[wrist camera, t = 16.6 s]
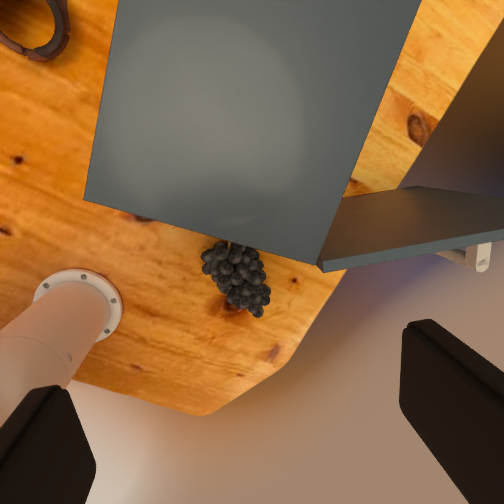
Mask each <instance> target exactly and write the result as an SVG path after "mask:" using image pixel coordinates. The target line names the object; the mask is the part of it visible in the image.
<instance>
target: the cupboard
mask: <svg viewBox="0 0 504 504" xmlns="http://www.w3.org/2000/svg"><path fill="white" fill-rule="evenodd" d="M421 1H422V0H119V1H118V7H117V13H116V18H115V24H114V29H113V35H112V41H111V46H110V52H109V58H108V63H107V69H106V74H105V80H104V86H103V91H102V97H101V103H100V108H99V114H98V120H97V125H96V131H95V136H94V142H93V148H92V153H91V159H90V165H89V170H88V176H87V181H86V187H85V193H84V198H83V200H86V201H89V202H93V203H96V204H100V205H103V206H107V207H110V208H114V209H117V210H121V211H124V212H128V213H131V214H135V215H138V216H142V217H145V218H149V219H153V220H156V221H160V222H163V223H167V224H170V225H174V226H177V227H181V228H184V229H188V230H191V231H195V232H198V233H202V234H205V235H209V236H212V237H216V238H220V239H223V240H227V241H230V242H234V243H237V244H241V245H244V246H248V247H251V248H255V249H258V250H262V251H265V252H269V253H272V254H276V255H279V256H283V257H286V258H290V259H294V260H297V261H301V262H304V263H308V264H311V265H315V264H316V261H317V259H318V256H319V254H320V251H321V249H322V246H323V244H324V242H325V239H326V237H327V234H328V232H329V229H330V227H331V224H332V222H333V219H334V217H335V214H336V212H337V209H338V207H339V204H340V202H341V199H342V197H343V194H344V192H345V189H346V187H347V184H348V182H349V179H350V177H351V174H352V172H353V170H354V167H355V165H356V162H357V160H358V157H359V155H360V152H361V150H362V147H363V145H364V142H365V140H366V137H367V135H368V132H369V130H370V127H371V125H372V122H373V120H374V117H375V115H376V112H377V110H378V107H379V105H380V102H381V100H382V98H383V95H384V93H385V90H386V88H387V85H388V83H389V80H390V78H391V75H392V73H393V70H394V68H395V65H396V63H397V60H398V58H399V55H400V53H401V50H402V48H403V45H404V43H405V40H406V38H407V35H408V33H409V30H410V28H411V26H412V23H413V21H414V18H415V16H416V13H417V11H418V8H419V6H420V3H421Z"/></svg>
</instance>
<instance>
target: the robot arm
mask: <svg viewBox="0 0 504 504" xmlns="http://www.w3.org/2000/svg"><path fill="white" fill-rule="evenodd" d="M85 275H86V276H85ZM114 298H115V299H114ZM122 313H123V305H122V300H121V297H120V295H119V293H118V291H117V290H116V288H115V287H114V286H113V285H112V284H111V283H110V282H109V281H108V280H107V279H106V278H104V277H103V276H101V275H99V274H97V273H95V272H92V271H88V270H85V269H66V270H62V271H59V272H56V273H54V274H52V275H51V276H49V277H48V278H46V279H45V280H44V281H43V282H41V284H40V285H39V286H38V288H37V289H36V291H35V294H34V297H33V304H32V305H31V306H29V307H28V308H27V309H26V310H24V311H23V312H22V313H21V314H20V315H18V316H17V317H16V318H15V319H13V320H12V321H11V322H10V323H8V324H7V325H6V326H5V327H4V328H2V329H1V330H0V504H85V502H86V500H87V497H88V494H89V492H90V489H91V486H92V483H93V481H94V478H95V474H96V462H95V459H94V457H93V454H92V451H91V449H90V446H89V443H88V441H87V438H86V436H85V433H84V431H83V428H82V425H81V423H80V420H79V418H78V415H77V413H76V410H75V407H74V405H73V402H72V400H71V397H70V394H69V392H68V391H67V390H66V389H65V388H66V387H67V385H68V384H69V382H70V380H71V379H72V377H73V376H74V374H75V373H76V371H77V370H78V368H79V366H80V365H81V363H82V362H83V360H84V359H85V357H86V356H87V354H88V352H89V351H90V349H91V348H92V346H93V345H94V343H95V342H98V341H101V340H103V339H105V338H106V337H108V336H109V335H110V334H111V333H112V332H113V331H114V330H115V329H116V327H117V326H118V324H119V322H120V320H121V317H122ZM399 404H400V408H401V410H402V412H403V414H404V416H405V417H406V419H407V420H408V421H409V423H410V424H411V425H412V427H413V428H414V429H415V431H416V432H417V434H418V435H419V436H420V438H421V439H422V440H423V442H424V443H425V444H426V446H427V447H428V448H429V450H430V451H431V452H432V454H433V455H434V457H435V458H436V459H437V461H438V462H439V463H440V465H441V466H442V467H443V469H444V470H445V471H446V473H447V474H448V476H449V477H450V478H451V480H452V481H453V482H454V484H455V485H456V486H457V488H458V489H459V490H460V492H461V493H462V494H463V496H464V497H465V499H466V500H467V501H468V503H469V504H504V372H502V371H501V370H499V369H498V368H497V367H496V366H494V365H493V364H492V363H490V362H489V361H488V360H486V359H485V358H484V357H482V356H481V355H480V354H478V353H477V352H476V351H474V350H473V349H471V348H470V347H469V346H467V345H466V344H465V343H463V342H462V341H460V340H459V339H458V338H457V337H455V336H454V335H452V334H451V333H450V332H449V331H447V330H446V329H445V328H443V327H442V326H440V325H439V324H438V323H436V322H435V321H434V320H432V319H424V320H419V321H413V322H410V323H408V325H407V328H405V329H404V330H403V333H402V352H401V373H400V393H399Z"/></svg>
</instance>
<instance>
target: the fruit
mask: <svg viewBox="0 0 504 504" xmlns="http://www.w3.org/2000/svg"><path fill="white" fill-rule="evenodd" d="M254 249H255V248H251V247H248V246H244V245H241V244H237V243H234V242H230V241H228V244H227V245H226V243H225V242H223V241H220V242H218V243H216V244H214V247H213V248H212V249H207V250H206V251H204V252H203V253H202V255H201V259H202V260H203V261H204V262H205V264H204V265H203V266H202V271H203V273H204V274H206V275H209V274H212V280H213V281H214V282H216V283H217V287H218V289H219V290H220V292H221V293H223V294H226V295H227V301H228V302H229V303H230V304H235V306H236V307H237V308H239V309H244V308H245V309H247V308H248V311H249V312H251V313H252V314H253V316H255V317H256V318H260V317H261V316H262V315H263V313H264V311H263V308H262V306H266V305H268V304H269V303H270V297H269V295H270V293H271V289H270V288H269V287H268V286H267V285H265V284H262V283H261V282H263V281H264V280H265V279H266V273H265V272H264V271H263V270H262V269H263V267H264V264H263V262H262V261H260V260H258V259H259V253H258V252H257V251H256V250H254ZM261 305H262V306H261Z"/></svg>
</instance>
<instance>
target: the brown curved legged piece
mask: <svg viewBox="0 0 504 504" xmlns="http://www.w3.org/2000/svg"><path fill="white" fill-rule="evenodd" d="M46 1H47V2H48V4H49V6H50V8H51V10H52V12H53V15H54V19H55V31H54V35H53V37H52V39H51V40H50V41H49V42H48V43H47V44H46V45H44V46H41V47H37V48H34V49H28V48H24V47H23V46H22V45H20V44H18V43H16V42H14V41H12V40H11V39H9V38H8V37H7V36H6V35H5V34H4V33H3V32H2V31H1V30H0V42H1V43H3V44H4V45H5V46H7V47H8V48H9V49H11V50H14V51H15V52H17V53H19V54H22V55H24V56H27V57H28V58H29V60H33V61H48V60H53V59H55V58H56V57H57V56H58V55H59V54H60V53H61V52H62V51H63V50H64V49H65V47H66V45H67V43H68V41H69V38H70V37H69V35H68V33H69V32H70V22H69V18H68V10H67V0H46Z"/></svg>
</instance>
